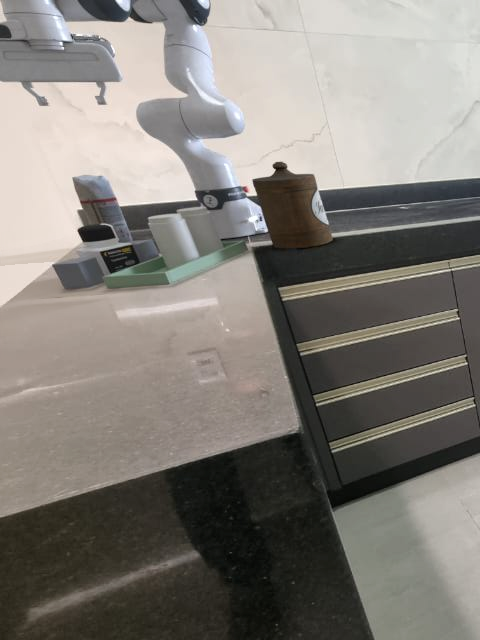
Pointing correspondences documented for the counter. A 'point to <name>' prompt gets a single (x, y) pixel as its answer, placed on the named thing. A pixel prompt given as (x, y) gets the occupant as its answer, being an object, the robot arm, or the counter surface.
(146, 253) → the grey box
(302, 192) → the wooden container
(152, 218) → the white bottle
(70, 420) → the counter surface
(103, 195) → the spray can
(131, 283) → the tray
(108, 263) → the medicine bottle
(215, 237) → the white bottle
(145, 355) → the counter surface
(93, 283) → the grey box
